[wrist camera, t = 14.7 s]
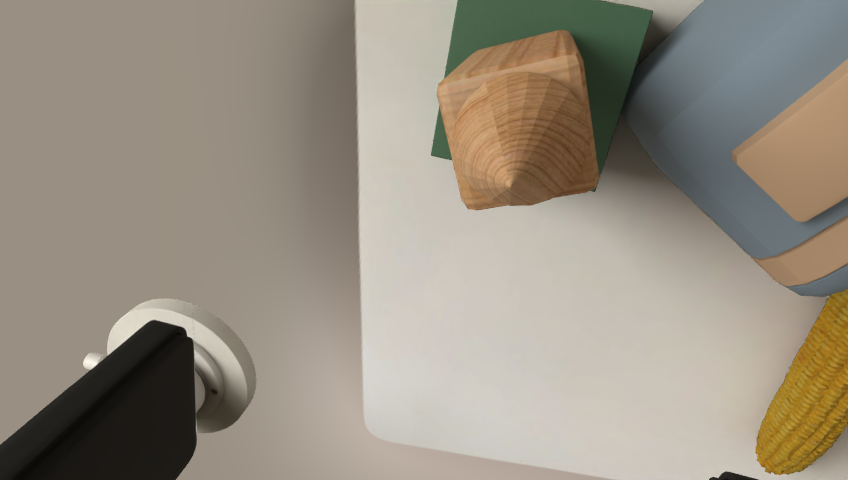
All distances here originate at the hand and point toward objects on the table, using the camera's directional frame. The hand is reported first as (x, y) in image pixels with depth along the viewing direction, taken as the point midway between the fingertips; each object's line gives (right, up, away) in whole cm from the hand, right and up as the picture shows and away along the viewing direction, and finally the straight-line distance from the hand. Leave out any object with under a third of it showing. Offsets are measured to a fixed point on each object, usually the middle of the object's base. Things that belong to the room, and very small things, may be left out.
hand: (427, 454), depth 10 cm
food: (+34, -6, +37) cm, 50 cm away
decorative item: (+7, +14, +27) cm, 31 cm away
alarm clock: (+25, +15, +29) cm, 41 cm away
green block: (+8, +16, +32) cm, 37 cm away
